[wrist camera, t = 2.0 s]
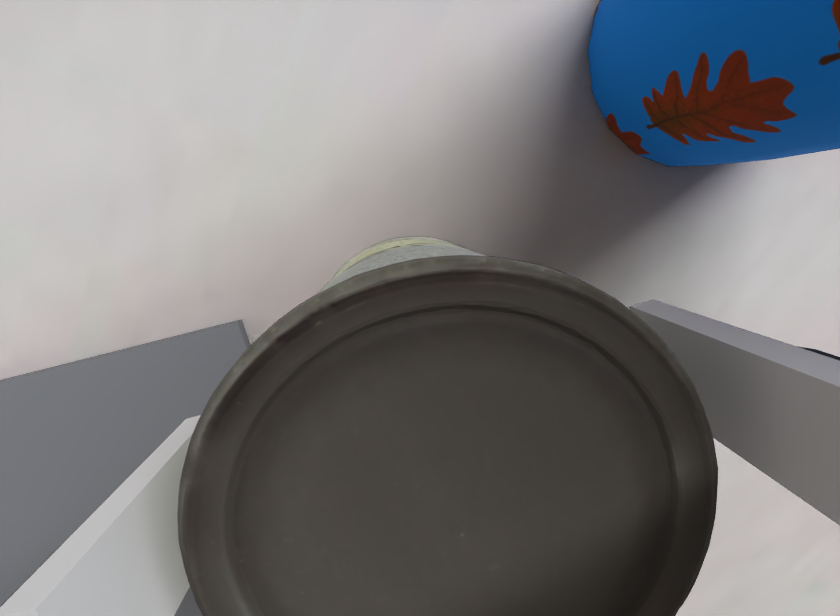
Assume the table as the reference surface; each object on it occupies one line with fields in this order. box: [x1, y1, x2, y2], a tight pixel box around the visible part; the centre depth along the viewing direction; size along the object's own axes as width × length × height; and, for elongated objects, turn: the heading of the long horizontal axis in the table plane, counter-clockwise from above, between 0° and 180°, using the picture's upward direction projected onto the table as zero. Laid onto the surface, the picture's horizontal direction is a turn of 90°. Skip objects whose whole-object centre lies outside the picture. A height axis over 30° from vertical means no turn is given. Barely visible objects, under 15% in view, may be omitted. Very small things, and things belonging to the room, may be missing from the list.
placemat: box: [0, 320, 250, 616], centre depth 22 cm, size 16×18×1 cm
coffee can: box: [177, 237, 718, 616], centre depth 15 cm, size 10×10×14 cm
